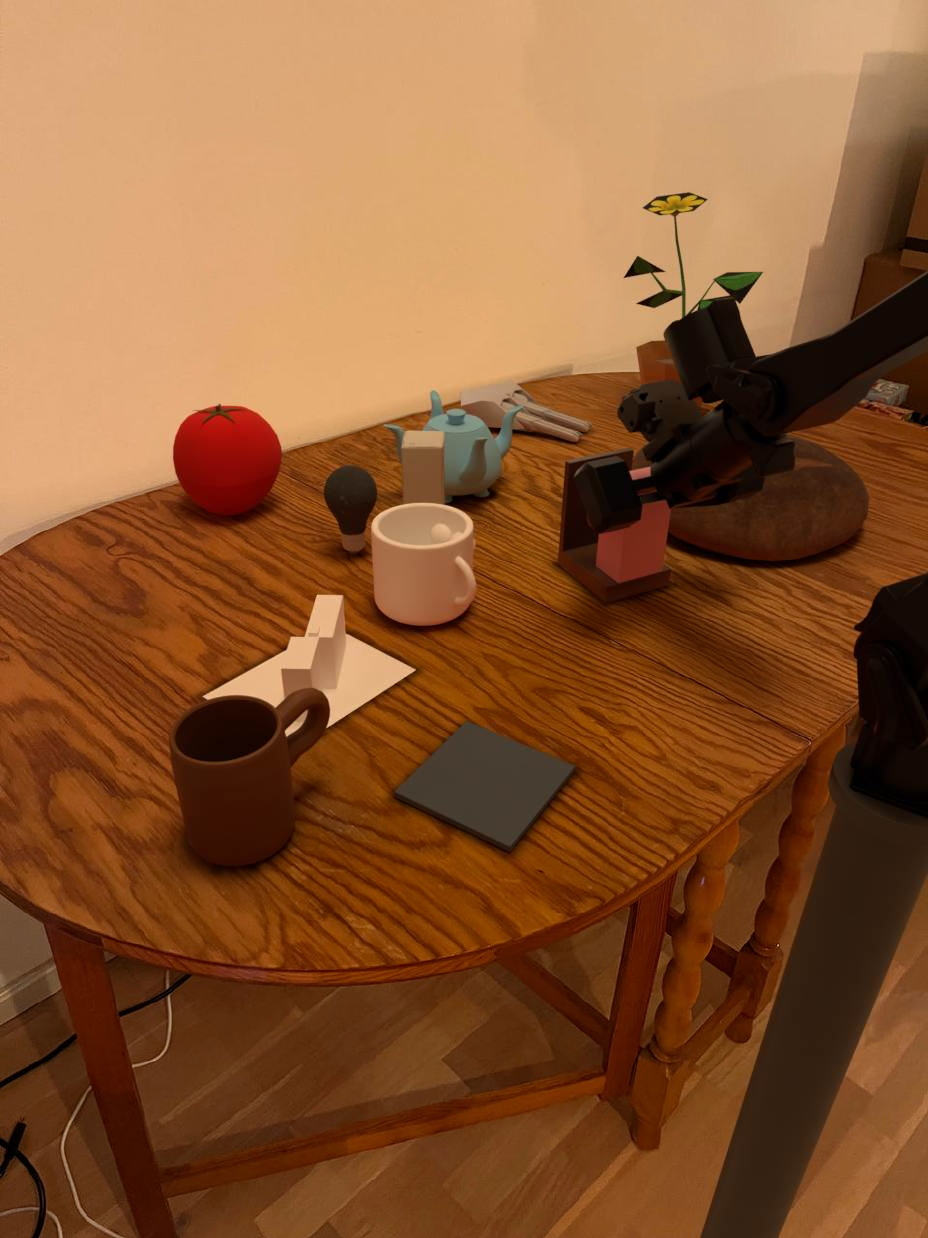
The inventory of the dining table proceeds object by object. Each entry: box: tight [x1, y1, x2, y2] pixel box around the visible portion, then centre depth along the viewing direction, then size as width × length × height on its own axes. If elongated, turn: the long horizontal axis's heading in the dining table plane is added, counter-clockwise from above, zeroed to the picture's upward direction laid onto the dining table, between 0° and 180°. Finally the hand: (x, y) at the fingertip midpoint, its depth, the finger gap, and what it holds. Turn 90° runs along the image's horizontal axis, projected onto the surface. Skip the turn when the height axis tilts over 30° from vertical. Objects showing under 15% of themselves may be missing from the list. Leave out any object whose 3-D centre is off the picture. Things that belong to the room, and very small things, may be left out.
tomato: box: [172, 403, 283, 516], centre depth 106 cm, size 12×12×13 cm
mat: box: [393, 720, 576, 853], centre depth 69 cm, size 10×10×1 cm
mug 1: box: [168, 687, 330, 868], centre depth 64 cm, size 12×8×9 cm, turn 135°
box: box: [401, 429, 446, 505], centre depth 98 cm, size 5×4×13 cm
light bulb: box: [323, 464, 378, 555], centre depth 98 cm, size 6×6×10 cm
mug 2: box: [370, 503, 477, 627], centre depth 88 cm, size 12×10×9 cm
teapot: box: [382, 389, 524, 504], centre depth 112 cm, size 13×13×10 cm
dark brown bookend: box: [557, 447, 672, 604], centre depth 93 cm, size 9×8×12 cm
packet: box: [596, 467, 671, 583], centre depth 91 cm, size 4×6×10 cm
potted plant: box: [623, 191, 764, 408], centre depth 128 cm, size 18×19×30 cm
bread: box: [632, 433, 870, 562], centre depth 108 cm, size 28×27×9 cm
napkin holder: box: [202, 594, 416, 737], centre depth 78 cm, size 15×11×6 cm
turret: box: [459, 380, 594, 443], centre depth 132 cm, size 10×20×5 cm, turn 64°
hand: (627, 512), depth 92 cm, fingers open, 9 cm apart
